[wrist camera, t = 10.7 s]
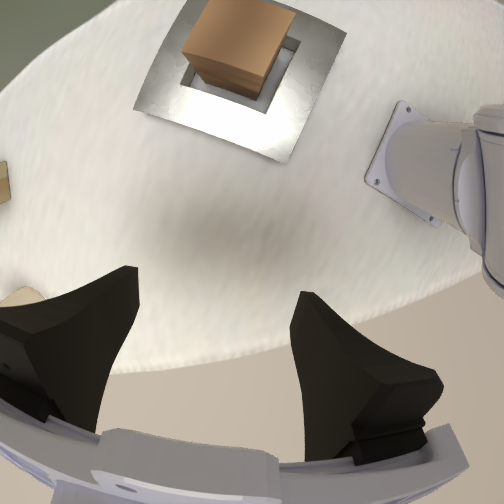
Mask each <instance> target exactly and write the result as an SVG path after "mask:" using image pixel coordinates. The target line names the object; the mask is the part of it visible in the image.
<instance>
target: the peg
mask: <svg viewBox="0 0 504 504" xmlns="http://www.w3.org/2000/svg"><path fill="white" fill-rule="evenodd" d="M295 15H296V13H294V12H292V11H289V10H287V9H284V8H281V7H278V6H276V5H273V4H270V3H267V2H264V1H261V0H210V1H209V2H208V4H207V5H206V7H205V9H204V10H203V12H202V13H201V15H200V17H199V19H198V20H197V22H196V24H195V25H194V27H193V29H192V31H191V33H190V34H189V36H188V38H187V40H186V42H185V44H184V46H183V48H182V50H181V52H182V54H183V55H184V56H185V57H186V59H187V60H188V61H189V62H190V64H191V65H192V66H193V68H194V69H195V70H196V72H197V73H198V74H199V76H200V77H201V78H202V80H203V81H204V82H205V83H207V84H210V85H213V86H216V87H219V88H222V89H225V90H228V91H231V92H234V93H237V94H239V95H242V96H245V97H247V98H250V99H253V100H255V101H256V100H257V98H258V96H259V94H260V91H261V89H262V87H263V85H264V83H265V81H266V79H267V77H268V75H269V73H270V70H271V68H272V66H273V64H274V62H275V60H276V58H277V56H278V54H279V51H280V49H281V47H282V44H283V42H284V40H285V37H286V35H287V33H288V30H289V28H290V26H291V24H292V21H293V19H294V17H295Z"/></svg>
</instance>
